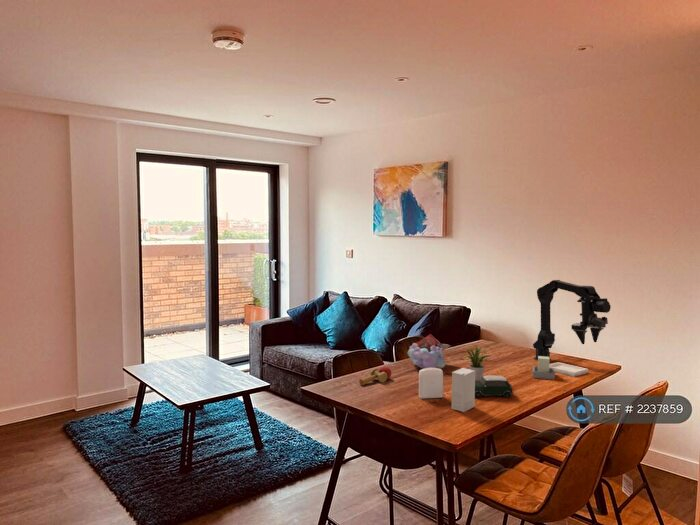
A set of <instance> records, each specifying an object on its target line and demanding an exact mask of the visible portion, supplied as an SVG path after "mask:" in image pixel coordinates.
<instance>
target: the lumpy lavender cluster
mask: <svg viewBox="0 0 700 525" xmlns="http://www.w3.org/2000/svg"><path fill="white" fill-rule="evenodd" d="M450 347H452V345H451V344H446V343H441V342H440V341H439V340H438V339H436V337H435V336H434V335H432V334H431V333H430V334H428V335H426V337H423V338H422V339H421V340H419V341H418V342H413V343H412V345H410V346H409V349H408V351H407V355H408V357H409V358H410V359H411V361H412V363H413V365H416V366H417V367H419V368H420V369H425V368H438V369H441V370H442V369H443V368H445V365H446V360H445V358H444V357H445V354H444V353H443V351H445V350H446V349H448V348H450Z"/></svg>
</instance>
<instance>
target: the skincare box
mask: <svg viewBox="0 0 700 525" xmlns="http://www.w3.org/2000/svg"><path fill="white" fill-rule="evenodd" d="M451 373H452V375H451V407H450V408H451V410H456V411H458V412H462V413H466V412H467V411H469V410H471V409H473V408H475V401H476V397H475V382H476V381H475V371H474V370H470V369H469V368H465V367H462V368H459V369H456V370H455V371H452V372H451Z"/></svg>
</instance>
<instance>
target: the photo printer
mask: <svg viewBox="0 0 700 525" xmlns="http://www.w3.org/2000/svg"><path fill="white" fill-rule="evenodd" d="M418 397H419V398H418V399H436V398H437V399H440V398H443V397H444V372H443V370H442V368H441V369H438V368H421V369H420V370H419V371H418Z"/></svg>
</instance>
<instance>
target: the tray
mask: <svg viewBox="0 0 700 525" xmlns="http://www.w3.org/2000/svg"><path fill="white" fill-rule="evenodd" d="M549 368H554V372H555V373H558V374H561V375H565V376H569V377H573V378H575V377H579V376H581V375H585V374H589V369H588V368H584V367H581V366H577V365H572V364H567V363H564V362H553V363H550V364H549Z"/></svg>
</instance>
